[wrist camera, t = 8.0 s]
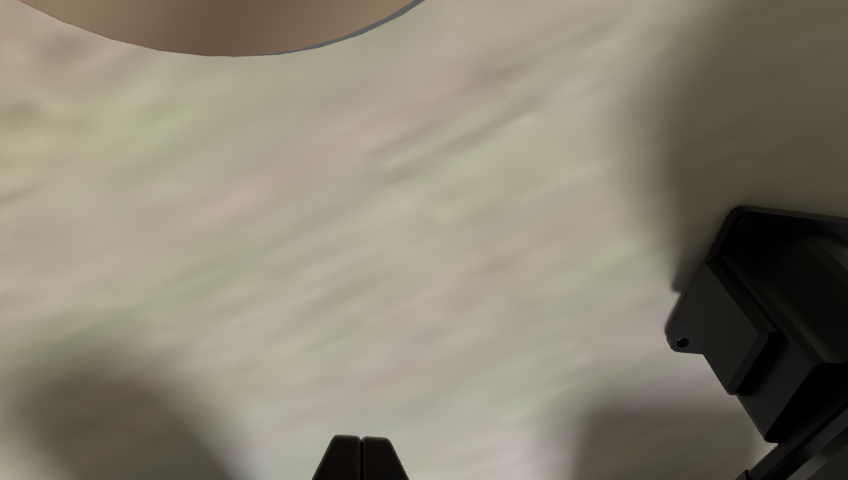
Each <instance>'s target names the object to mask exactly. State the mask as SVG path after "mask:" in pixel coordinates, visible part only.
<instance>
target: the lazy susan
mask: <svg viewBox="0 0 848 480" xmlns="http://www.w3.org/2000/svg"><path fill="white" fill-rule="evenodd" d="M18 1H21V2H23V3H25V4H27V5H29V6H31V7H33V8H35V9H37V10H39V11H41V12H43V13H46V14H48V15H50V16H52V17H54V18H56V19H58V20H60V21H62V22H65V23H68V24H71V25H73V26H76V27H79V28H82V29H85V30H87V31H90V32H93V33H96V34H99V35H101V36H104V37H107V38H110V39H113V40H117V41H121V42H126V43H130V44H134V45H138V46H143V47H147V48H151V49H155V50H160V51H167V52H176V53H185V54H194V55H202V56H255V55H262V54H269V53H276V52H283V51H290V50H297V49H302V48H305V47H309V46H312V45H316V44H319V43H323V42H326V41H330V40H333V39H337V38H340V37H343V36H346V35H348V34H350V33H353V32H355V31H357V30H359V29H362V28H364V27H366V26H369V25H371V24H373V23H375V22H378V21H380V20H382V19H384V18H386V17H388V16H390V15H391V14H393V13H394V12H396V11H398V10H399V9H401V8H403V7H404V6H406V5H408V4H409V3H411V2H412V1H414V0H18Z"/></svg>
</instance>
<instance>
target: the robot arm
mask: <svg viewBox="0 0 848 480" xmlns="http://www.w3.org/2000/svg"><path fill="white" fill-rule="evenodd" d="M744 218H747V219H746V220H745V221H744V222H743V223H741V224H739V222H740V221H741V220H742V219H744ZM682 338H683V339H682ZM666 339H667V342H668V344H669V346H670V347H671V349H672V350H673V351H676V352H682V353H693V354H703V355H704V357H705V358H706V360H707V361H708V363H709V365H710V366H711V368H712V370H713V371H714V373H715V374H716V376H717V378H718V379H719V381H720V382H721V384H722V386H723V387H724V389H725V390H726V392H727V393H728V394H729V395H736V396H737V397H738V399H739V401H740V402H741V404H742V405H743V407H744V408H745V410H746V412H747V413H748V415H749V416H750V418H751V419H752V421H753V423H754V424H755V426H756V427H757V429H758V430H759V432H760V434H761V435H762V437H763V438H764V440H765V441H766V442H769V443H779V444H778V445H777V446H775V447H774V448H773V449H772V450H771V451H770V452H769V453H768V454H767V455H766V456H765V457H764V458H762V459H761V460H760V461H759V462H758V463H757V464H756V465H755V466H754V467H753V468H752V469H751V470H745V471H744V472H743V473H742V474H741V475H740V476H738V477H737V478H736V479H735V480H848V218H840V217H833V216H825V215H817V214H809V213H801V212H794V211H786V210H778V209H770V208H762V207H755V206H747V205H745V206H739V207H736V208H734V209H733V210H732V211H730V213H729V214H728V215H727V217H726V219H725V221H724V223H723V225H722V227H721V229H720V231H719V233H718V235H717V237H716V239H715V241H714V243H713V245H712V247H711V249H710V251H709V253H708V255H707V257H706V259H705V261H704V262H703V264H702V266H701V268H700V270H699V272H698V274H697V276H696V278H695V280H694V282H693V284H692V286H691V288H690V290H689V291H688V293H687V295H686V297H685V299H684V301H683V303H682V305H681V307H680V309H679V311H678V314H677V316H676V318H675V320H674V322H673V324H672V326H671V328H670V330H669V332H668V334H667V338H666ZM680 339H681V340H680ZM312 480H409V478H408V476H407V474H406V472H405V470H404V468H403V466H402V464H401V462H400V460H399V458H398V456H397V454H396V451H395V449H394V447H393V445H392V443H391V442H390V440H389V439H387V438H384V437H368V436H366V437H364V438H362V440H361V439H360V438H359V437H358V436H352V435H335V436H334V437H333V438H332V440H331V442H330V444H329V446H328V448H327V450H326V452H325V454H324V456H323V458H322V460H321V462H320V464H319V466H318V468H317V470H316V472H315V474H314V476H313V478H312Z"/></svg>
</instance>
